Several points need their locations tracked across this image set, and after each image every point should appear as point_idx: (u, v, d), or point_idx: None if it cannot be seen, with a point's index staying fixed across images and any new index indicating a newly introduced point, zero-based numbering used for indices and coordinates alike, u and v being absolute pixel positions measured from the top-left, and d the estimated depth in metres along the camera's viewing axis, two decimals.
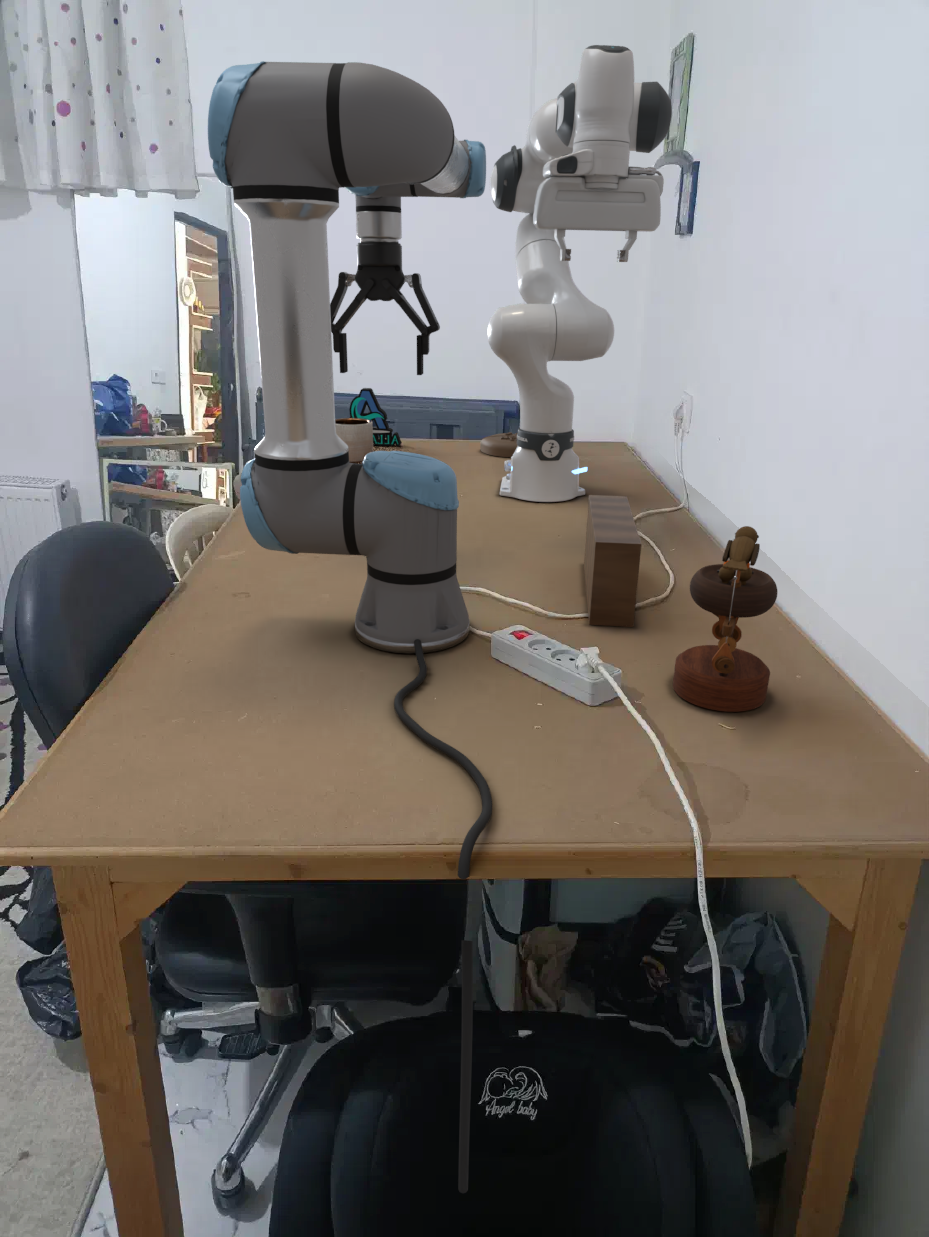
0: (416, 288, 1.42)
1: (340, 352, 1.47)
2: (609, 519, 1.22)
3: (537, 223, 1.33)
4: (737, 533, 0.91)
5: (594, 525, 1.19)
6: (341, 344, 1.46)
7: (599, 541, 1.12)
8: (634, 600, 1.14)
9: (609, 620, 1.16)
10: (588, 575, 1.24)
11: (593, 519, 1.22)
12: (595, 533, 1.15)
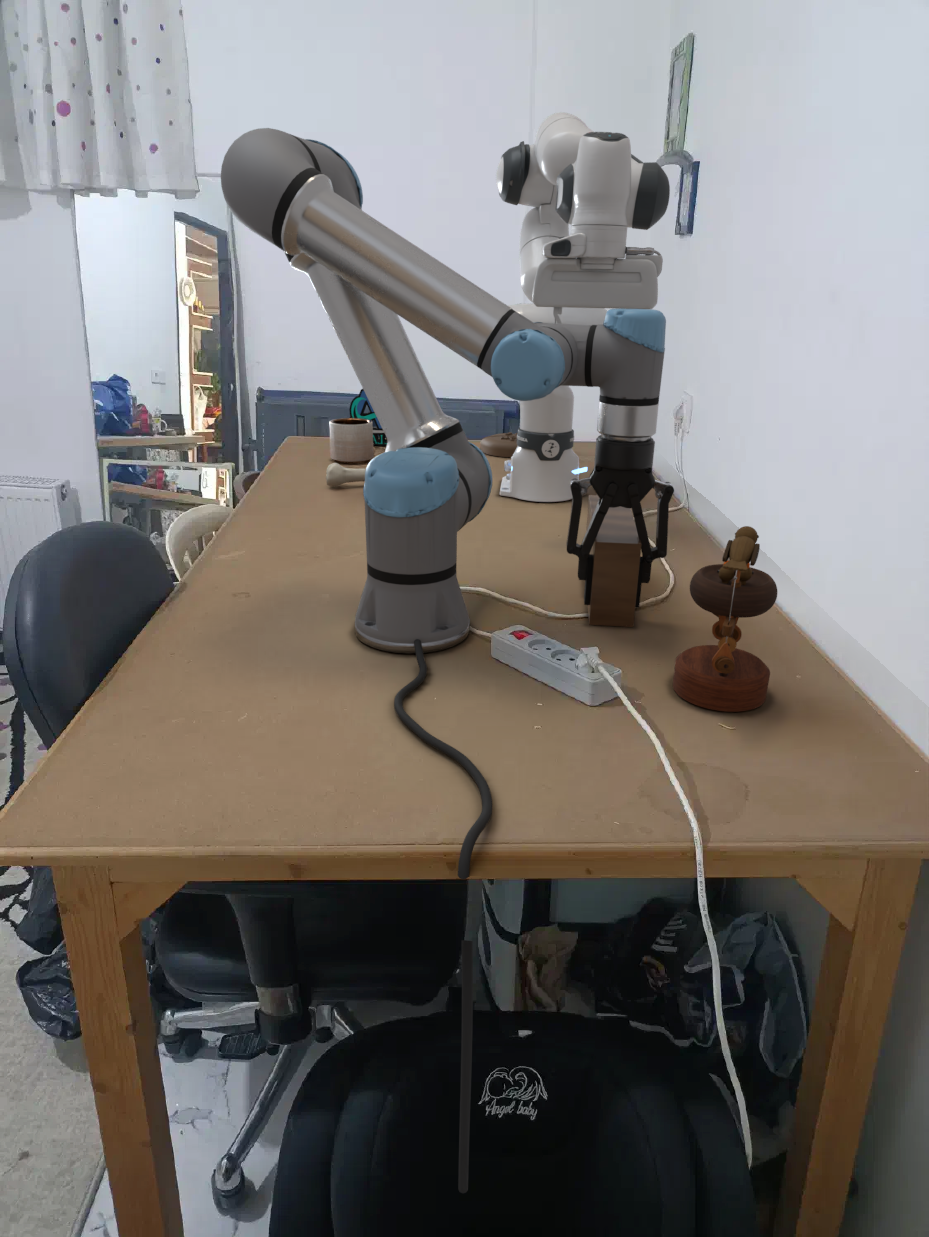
0: (664, 503, 1.11)
1: (587, 581, 1.16)
2: (609, 519, 1.22)
3: (533, 302, 1.38)
4: (737, 533, 0.91)
5: None
6: (590, 572, 1.15)
7: (599, 541, 1.12)
8: (634, 600, 1.14)
9: (609, 620, 1.16)
10: None
11: None
12: None
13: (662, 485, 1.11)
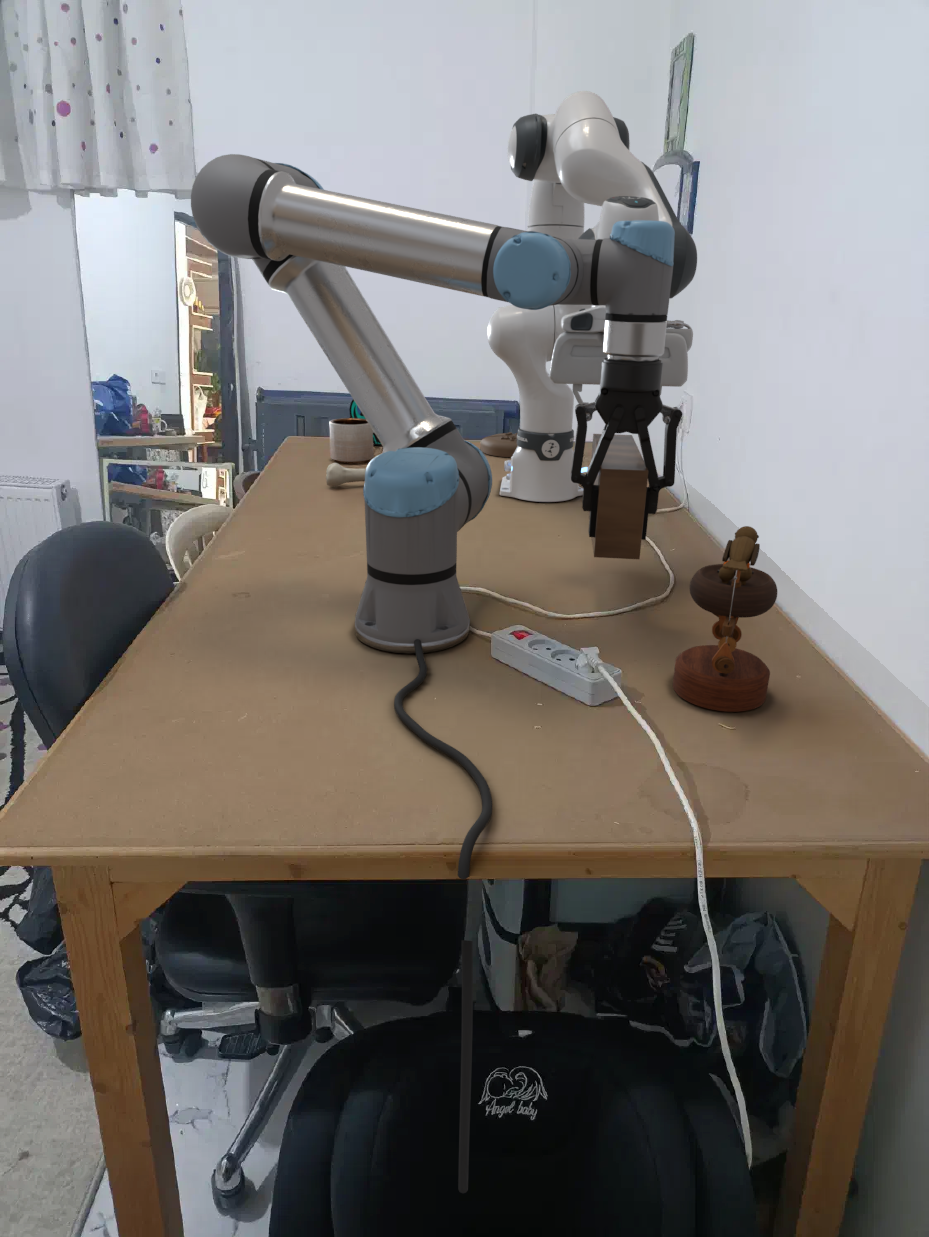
0: (672, 428, 1.07)
1: (592, 512, 1.12)
2: (615, 452, 1.18)
3: (551, 378, 1.26)
4: (737, 533, 0.91)
5: None
6: (595, 502, 1.11)
7: (604, 468, 1.08)
8: (640, 531, 1.10)
9: (615, 552, 1.12)
10: None
11: None
12: None
13: (670, 409, 1.07)
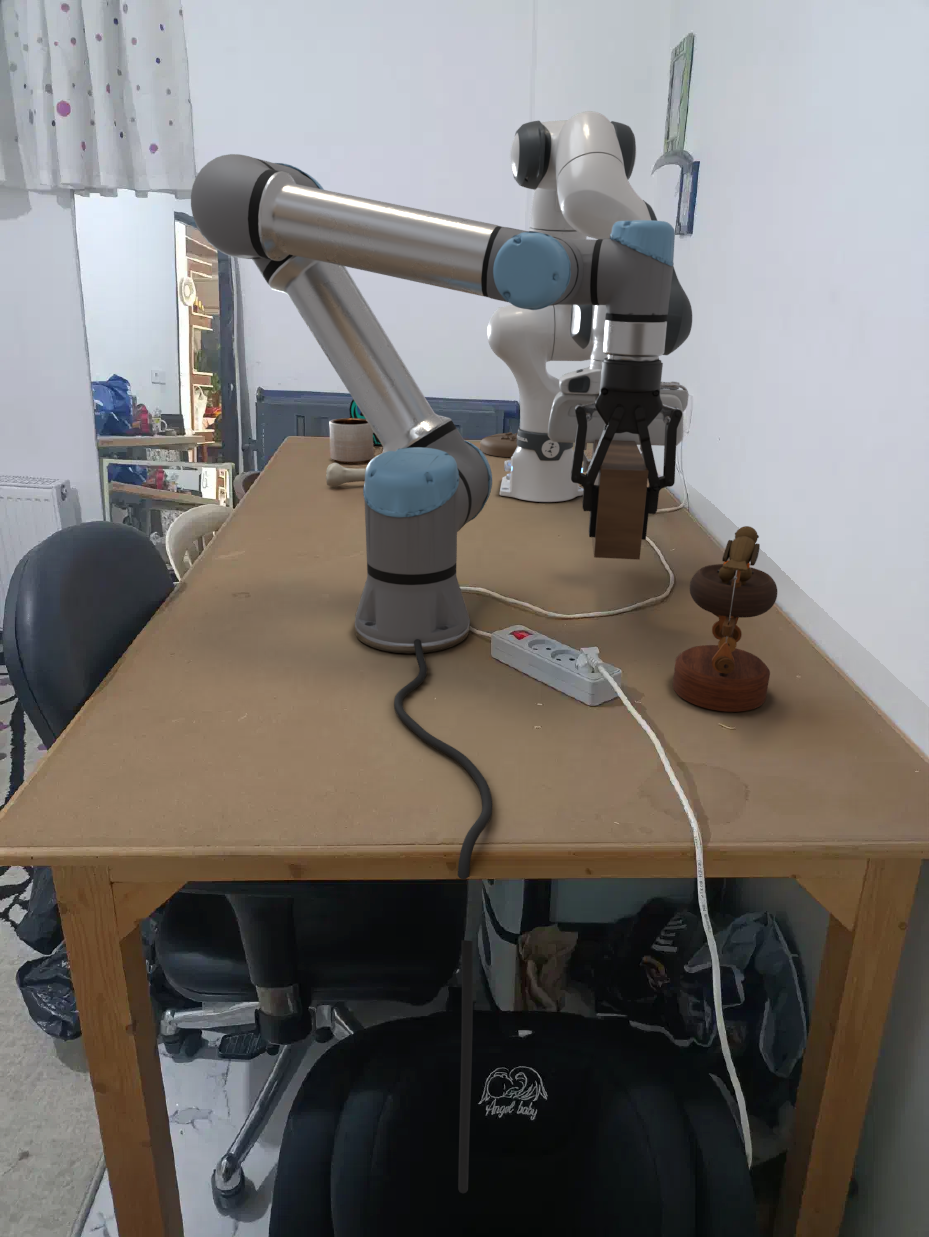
0: (672, 428, 1.07)
1: (592, 512, 1.12)
2: (615, 452, 1.18)
3: (549, 437, 1.28)
4: (737, 533, 0.91)
5: None
6: (595, 502, 1.11)
7: (604, 468, 1.08)
8: (641, 531, 1.10)
9: (615, 553, 1.12)
10: None
11: None
12: None
13: (670, 409, 1.07)
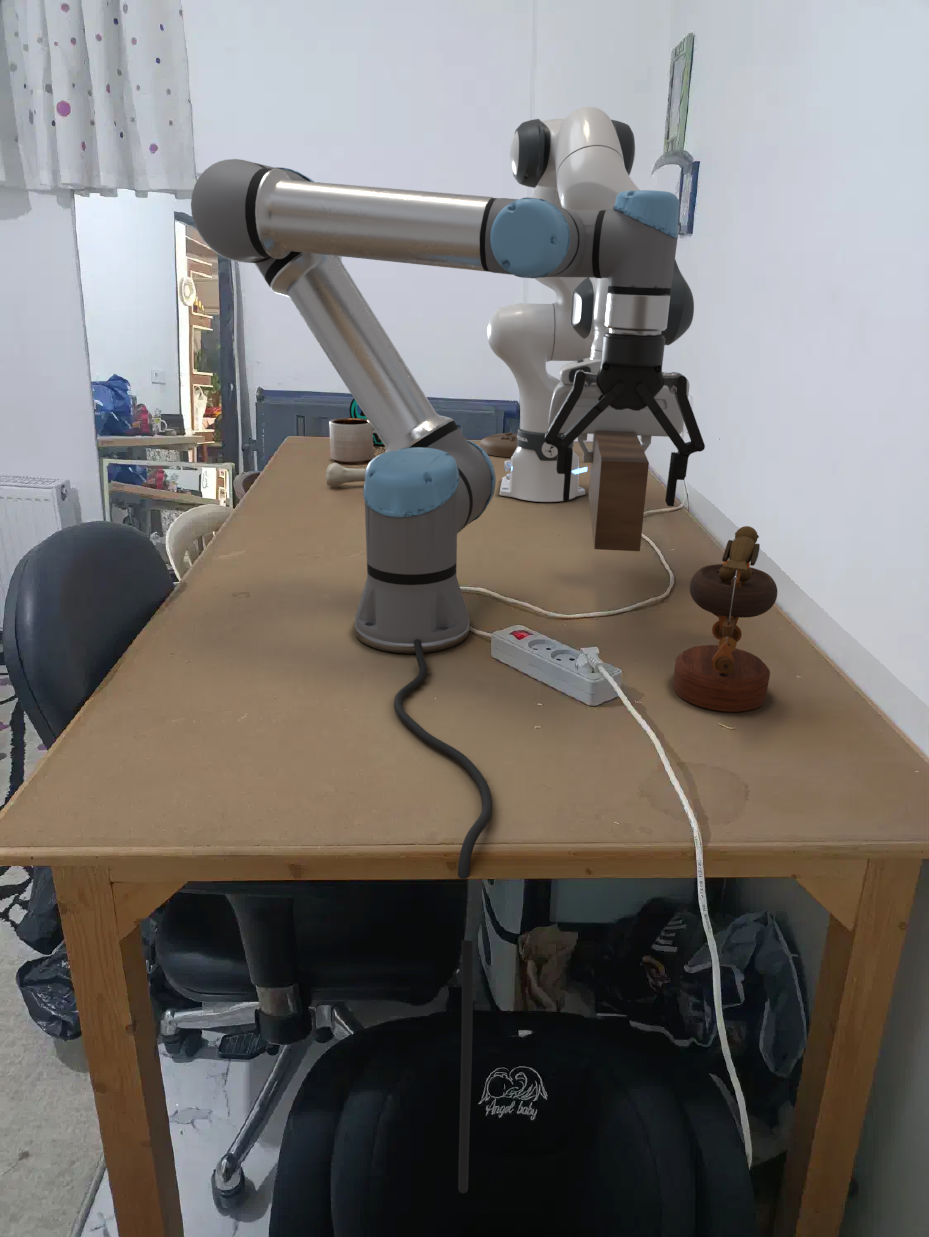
0: (681, 395, 1.05)
1: (566, 474, 1.10)
2: (615, 443, 1.18)
3: None
4: (737, 533, 0.91)
5: (600, 448, 1.15)
6: (569, 464, 1.09)
7: (605, 460, 1.08)
8: (641, 523, 1.10)
9: (615, 544, 1.12)
10: (593, 502, 1.20)
11: (598, 443, 1.18)
12: (601, 454, 1.11)
13: (673, 379, 1.05)
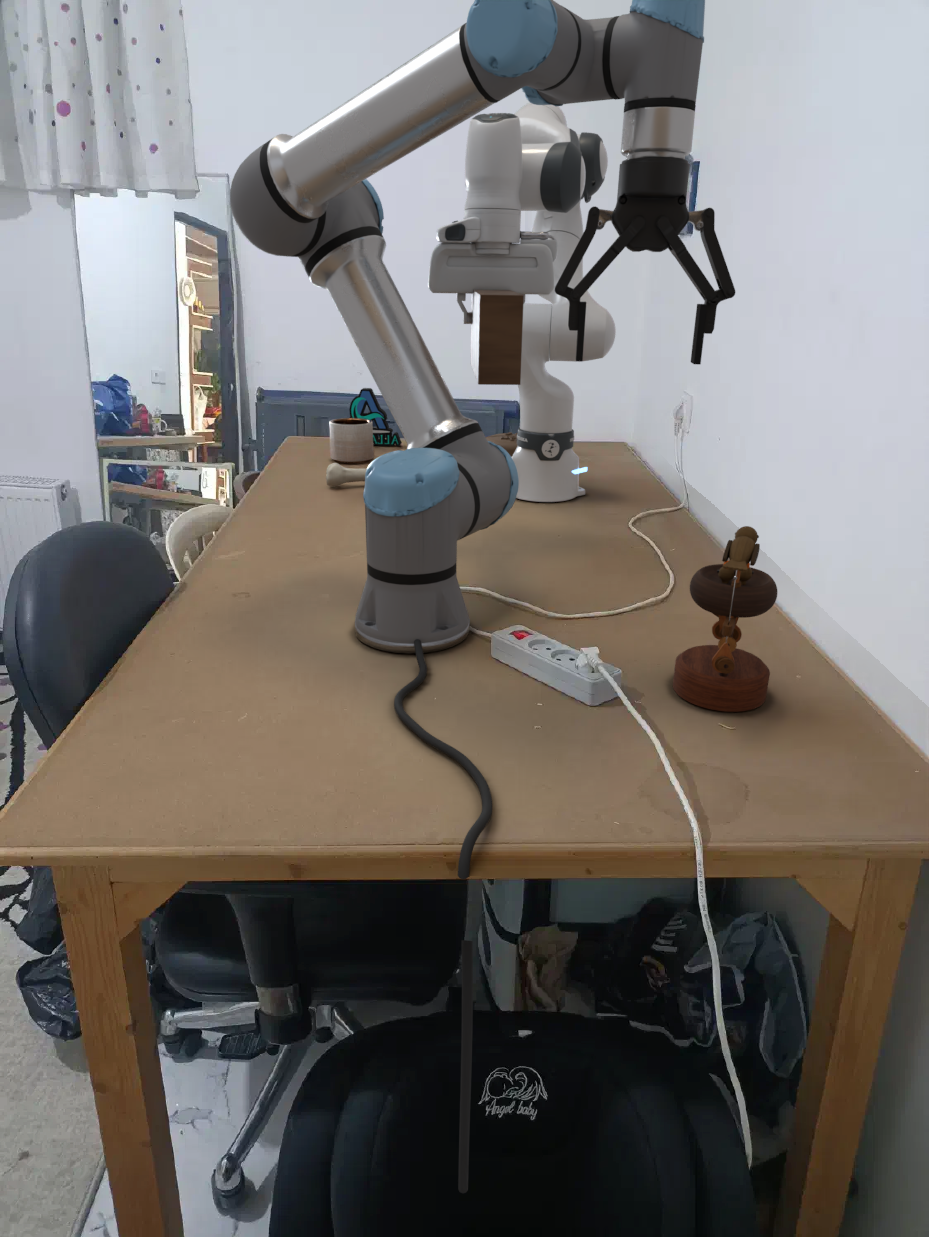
0: (708, 231, 0.93)
1: (579, 330, 0.98)
2: None
3: (429, 288, 1.34)
4: (737, 533, 0.91)
5: (478, 292, 1.22)
6: (582, 318, 0.97)
7: (483, 294, 1.15)
8: (520, 356, 1.18)
9: (497, 379, 1.19)
10: None
11: None
12: (479, 293, 1.19)
13: (698, 213, 0.93)
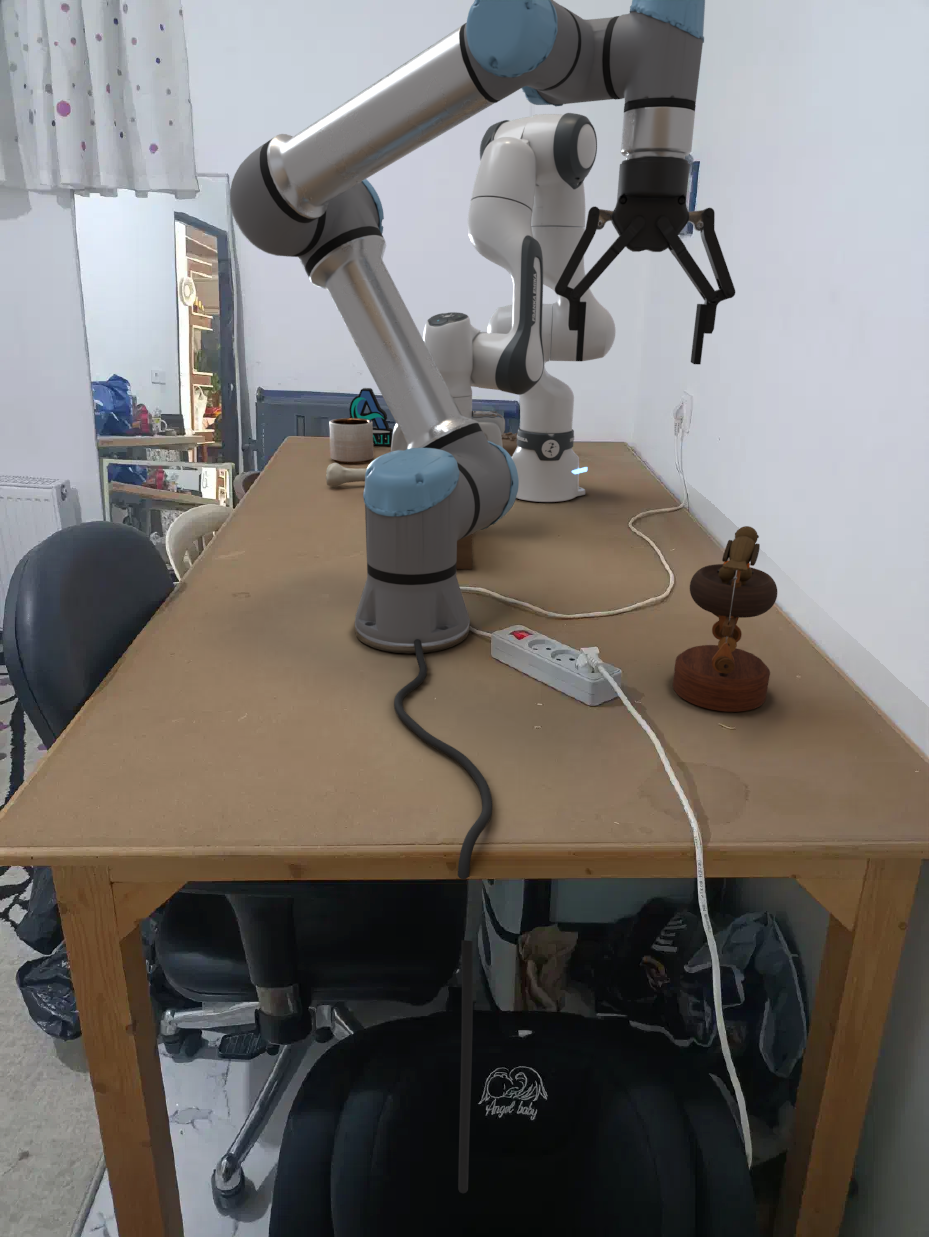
0: (708, 231, 0.93)
1: (579, 330, 0.98)
2: None
3: None
4: (737, 533, 0.91)
5: None
6: (582, 318, 0.97)
7: None
8: (471, 546, 1.36)
9: None
10: None
11: None
12: None
13: (698, 213, 0.93)
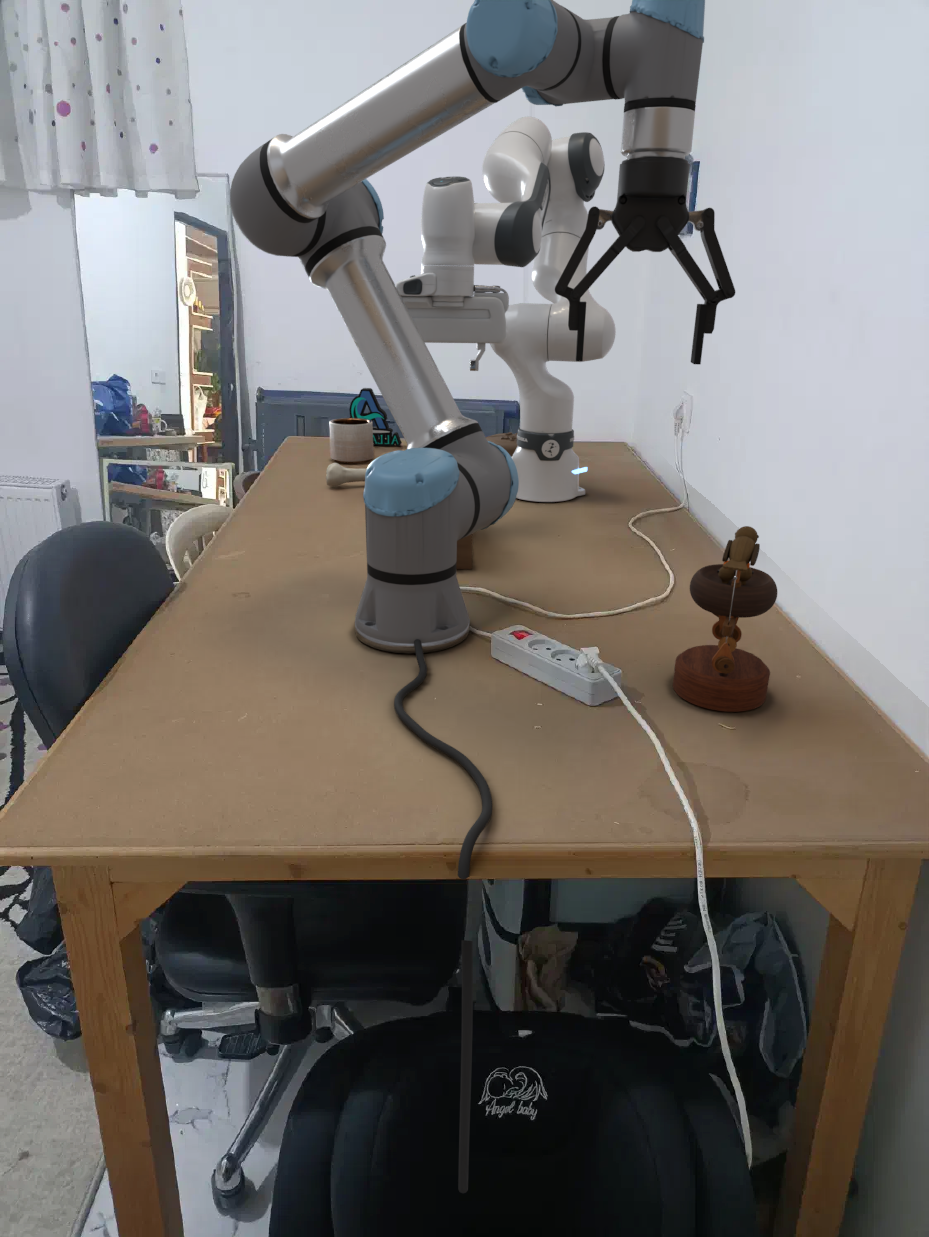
0: (708, 231, 0.93)
1: (579, 330, 0.98)
2: None
3: None
4: (737, 533, 0.91)
5: None
6: (582, 318, 0.97)
7: None
8: (471, 546, 1.36)
9: None
10: None
11: None
12: None
13: (698, 213, 0.93)
